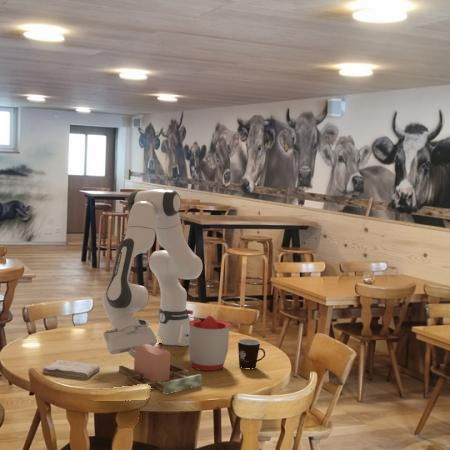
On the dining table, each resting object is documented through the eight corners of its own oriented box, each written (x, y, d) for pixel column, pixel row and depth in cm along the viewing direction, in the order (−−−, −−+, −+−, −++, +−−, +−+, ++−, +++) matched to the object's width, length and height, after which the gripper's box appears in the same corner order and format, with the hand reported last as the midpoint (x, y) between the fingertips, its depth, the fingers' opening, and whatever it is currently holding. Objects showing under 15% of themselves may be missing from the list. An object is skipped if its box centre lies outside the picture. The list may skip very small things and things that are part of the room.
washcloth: (55, 365, 253) (55, 357, 253) (100, 371, 250) (101, 363, 249) (40, 374, 242) (40, 366, 241) (87, 380, 238) (88, 372, 238)
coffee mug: (232, 364, 266) (234, 339, 265) (252, 363, 269) (254, 338, 268) (245, 373, 255) (247, 347, 254) (265, 372, 258) (267, 346, 258)
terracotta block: (147, 370, 252) (148, 344, 251) (169, 380, 242) (170, 352, 242) (133, 373, 248) (135, 346, 247) (155, 383, 238) (157, 355, 237)
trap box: (157, 363, 261) (158, 353, 261) (208, 384, 241) (209, 373, 240) (105, 373, 245) (106, 363, 245) (155, 397, 224) (156, 385, 224)
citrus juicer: (223, 359, 272) (225, 310, 270) (230, 373, 254) (234, 320, 253) (184, 359, 269) (186, 309, 267) (189, 373, 252) (192, 320, 250)
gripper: (105, 326, 247) (119, 359, 241) (150, 320, 261) (165, 351, 255) (98, 335, 251) (112, 368, 244) (143, 329, 265) (157, 359, 258)
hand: (139, 359), depth 250 cm, fingers closed, pressing on terracotta block
